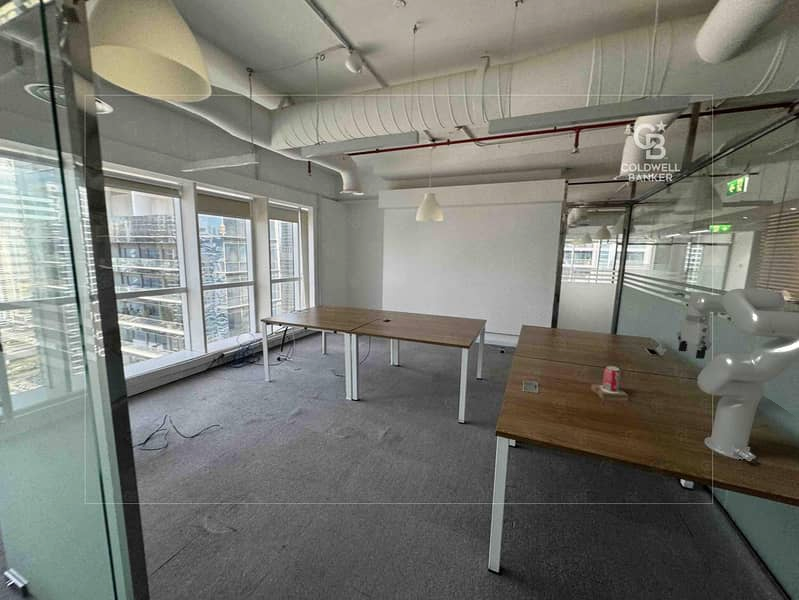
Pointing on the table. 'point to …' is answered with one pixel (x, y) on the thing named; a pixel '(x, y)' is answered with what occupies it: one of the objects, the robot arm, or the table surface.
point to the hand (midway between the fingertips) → (690, 354)
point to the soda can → (611, 378)
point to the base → (609, 393)
